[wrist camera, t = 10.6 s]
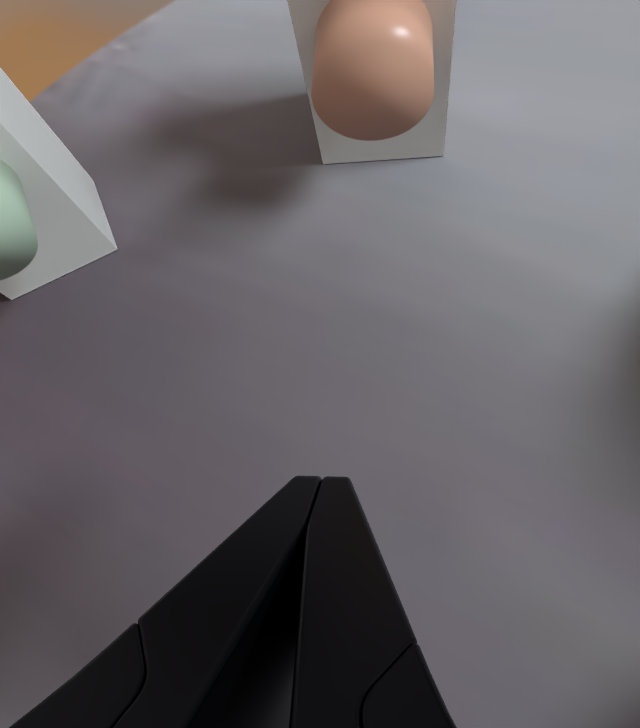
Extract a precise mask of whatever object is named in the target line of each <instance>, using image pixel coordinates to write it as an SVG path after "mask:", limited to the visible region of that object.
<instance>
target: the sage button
mask: <svg viewBox="0 0 640 728" xmlns="http://www.w3.org/2000/svg"><path fill="white" fill-rule="evenodd" d="M37 248H38V240H37V236H36V232H35V228H34V225H33V221H32V218H31V214H30V211H29V207H28V203H27V200H26V196H25V193H24V189H23V186H22V183H21V181H20V178H19V177H18V175H17V174H16V173H15V171H14V170H13V169H12V168H11V167H10V166H9V165H7V164H6V163H5V162H3V161H2V160H1V159H0V280H3V279H6V278H9V277H11V276H13V275H15V274H17V273H19V272H20V271H22V270H23V269H24V268H26V267H27V266H28V265H29V264H30V263H31V261H32V260H33V259H34V257H35V255H36V252H37Z"/></svg>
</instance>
